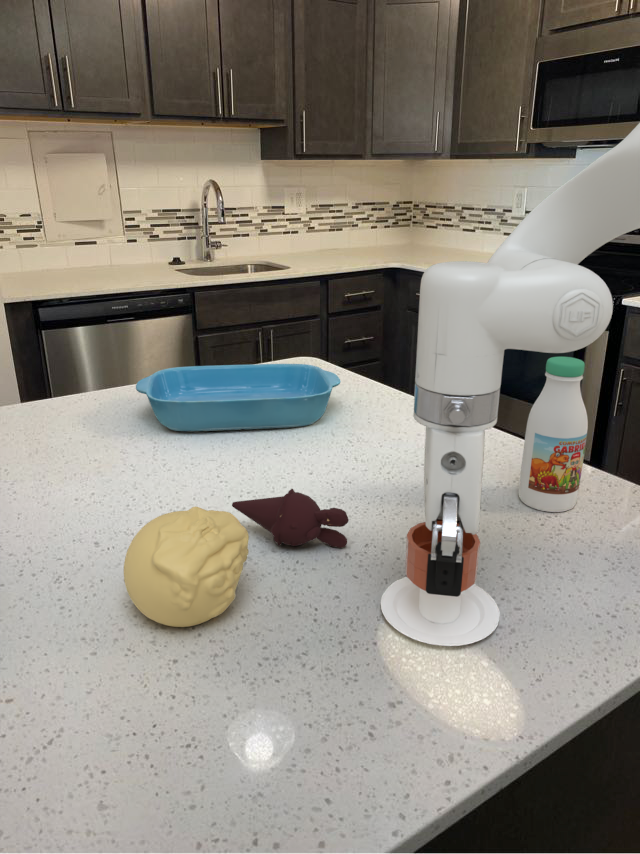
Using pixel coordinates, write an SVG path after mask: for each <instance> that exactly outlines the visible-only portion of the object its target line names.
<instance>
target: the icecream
mask: <svg viewBox="0 0 640 854" xmlns="http://www.w3.org/2000/svg"><path fill="white" fill-rule="evenodd" d="M231 506H232V508H234V509H235V510H236V511H238V512H240V513H241V514H242V515H244V516H246V517H247V518H248V519H250V520H252V522H254V523H255V524H257V525H259V526H260V527H262V528H263V529H265V530H266V531H267V532H269V533H271V535H272V536H273V541H274V543H276V544H277V546H278V547H280V546H281V545H282V544H284V545H287V546H292V547H298V546H301V545H305V544H307V543H308V542H311V541H315V540H316V539H318V540H319V541H320V542H322V543H323V544H325V545H328V546H330V547H332V548H338V549H343V548H345V547H346V546H347V545H348V538H347V537H346V535H345V534H343V533H341V532H340V531H339V530H337V529H333V527H334V528H341V527H345V526H346V525H347V524H348V523H349V517H348V515H347V512H346V511H345V510H344V509H342V508H337V507H330V508H324V509H321V508H320V507H319V505H318V504H317V502H316V501H315V500H314V499H313V498H311V496H309V495H307V494H305V493H302V492H300V491H299V492H298V491H295V489H293V488H291V489H289V490H288V492H287V493H285V494H284V495H282V496H273V497H265V498H255V499H248V500H247V499H246V500H238V501H232V503H231ZM322 526H327V527H322ZM328 527H332V528H328Z"/></svg>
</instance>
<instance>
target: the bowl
mask: <svg viewBox="0 0 640 854" xmlns="http://www.w3.org/2000/svg"><path fill="white" fill-rule="evenodd" d="M437 524H439V525H442V521H437ZM457 526H459V524H457ZM463 529H464V527H463ZM441 536H442V533H438V542H441ZM456 537H457V535H456ZM405 541H406V542H405V563H404V571H405V575H406V577H408V578H409V580H410V581H411V582H412V583H413V584H415V585H416V586H417V587H419V588H420V589H422V590H424V591H426V579H427V564H428V554H431V546H432V531H430V530H429V529H428V528H427V527H426V522H425V521H423V522H419V523H417V524H415V525H413V526H411V527H410V529H409V530H408V531H407V533H406V540H405ZM437 545H438V543H437ZM480 551H481V540H480V538H479V536H478V533H476V534H474V535H472V534H471V533H466V532H465V530H464V531H463V545H462V557H464V563H463V574H462V586H461V592H462V591H464V590H467V589H468V588H470V587H471V586H472V585H474V584H475V585H476V581H477V577H478V569H479V559H480Z"/></svg>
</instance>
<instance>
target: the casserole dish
mask: <svg viewBox="0 0 640 854" xmlns="http://www.w3.org/2000/svg"><path fill="white" fill-rule="evenodd" d="M339 385H341V379H340V377H339V376H338V375H337V374H336V373H334V372H332V371H329V370H325V369H323V368H322V367H319V366H316V365H312V364H307V363H259V364H257V363H255V364H252V363H251V364H223V365H222V364H221V365H220V364H219V365H217V364H216V365H193V366H191V365H189V366H177V367H169V368H163V369H161V370H157V371H155V372H153V373H152V374H151V375H148V376H147V377H146V376H145V377H143V378H141V379H140V380H138V381H137V382H136V384H135V389H136V392H138V393H140V394H143V395H146V397H147V399H148V402H149V404H150V407H151V409H152V411H153V414H154V416H155V417H156V420H157V421H158V422H159V423H160V424H161V425H162V426H164V427H166V428H168V429H169V430H171V431H175V432H176V431H177V432H211V431H212V432H218V431H219V432H220V431H240V430H266V429H285V428H286V429H287V428H298V427H306V426H310V425H313V424H314V423H316V422H317V421H318V420H320V419H321V418H322V417H323V416H324V414H325V412H326V411H327V410H326V409H327V407H328V404H329V400H330V397H331V394H332V391H333V389H334V388H335V387H337V386H339Z"/></svg>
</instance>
